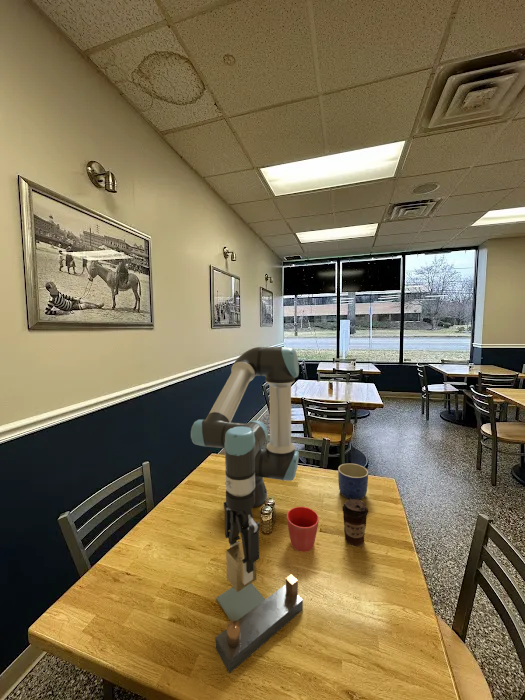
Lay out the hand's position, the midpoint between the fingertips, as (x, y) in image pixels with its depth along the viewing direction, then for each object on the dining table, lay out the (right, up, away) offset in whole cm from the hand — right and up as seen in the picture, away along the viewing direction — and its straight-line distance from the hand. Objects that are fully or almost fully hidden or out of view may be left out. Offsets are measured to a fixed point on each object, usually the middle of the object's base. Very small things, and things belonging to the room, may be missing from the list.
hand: (241, 573), depth 76 cm
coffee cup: (+37, -6, +22) cm, 44 cm away
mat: (0, -8, +1) cm, 8 cm away
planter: (+45, -4, +50) cm, 67 cm away
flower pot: (+19, -7, +21) cm, 29 cm away
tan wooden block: (0, -2, 0) cm, 2 cm away
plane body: (+5, -9, -6) cm, 12 cm away
